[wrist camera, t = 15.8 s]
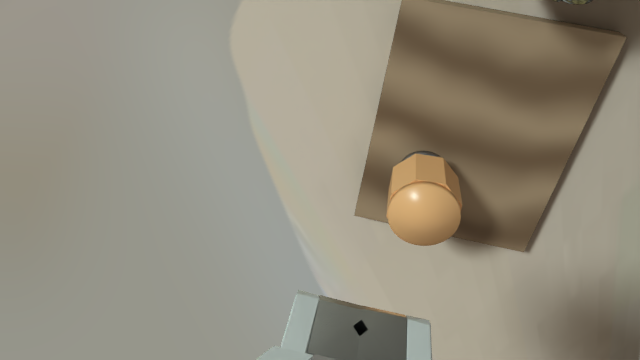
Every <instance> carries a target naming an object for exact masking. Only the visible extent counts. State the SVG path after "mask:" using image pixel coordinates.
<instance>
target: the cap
mask: <svg viewBox="0 0 640 360" xmlns="http://www.w3.org/2000/svg"><path fill="white" fill-rule="evenodd" d="M461 209H462V199H461V193H460V186H459V180H458V177H457V175H456V174H455V173H454V171H453V170H452V169H451V167H450V166H449V165H448V163H447V162H446V161H445V159H444V158H441V157H435V156H429V155H422V154H414V155H412V156H411V157H409V158H407V159H406V160H404V161H402V162H401V163H399V164H397V165H396V166H394V167H393V170H392V175H391V180H390V186H389V192H388V203H387V215H386V217H387V218H388V222H389V225H390V227H391V229H392V230H393V232H394V233H395V234H396V235H397V236H398V237H399V238H401V239H402V240H404V241H406V242H408V243H411V244H415V245H421V246H428V245H435V244H438V243H441V242H443V241H445V240H447V239H448V238H450V237H451V236H452V235H453V234H454V233H455V232H456V230H457V228H458V227H459V224H460V220H461V213H460V212H461Z"/></svg>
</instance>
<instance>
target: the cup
mask: <svg viewBox="0 0 640 360" xmlns="http://www.w3.org/2000/svg"><path fill="white" fill-rule="evenodd" d="M553 1H557V2H559V1H564V2H567V3H571V4H586V3H589V2H591V1H592V0H553Z"/></svg>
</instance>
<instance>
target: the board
mask: <svg viewBox="0 0 640 360" xmlns="http://www.w3.org/2000/svg"><path fill="white" fill-rule="evenodd" d="M626 38H627V37H626V36H624V35H623V34H621V33H620V32H616V31H610V30H605V29H599V28H594V27H588V26H583V25H577V24H571V23H566V22H560V21H555V20H549V19H544V18H538V17H533V16H527V15H522V14H516V13H511V12H505V11H500V10H494V9H489V8H483V7H478V6H472V5H467V4H461V3H455V2H450V1H444V0H402V2H401V7H400V11H399V16H398V20H397V25H396V29H395V34H394V38H393V43H392V47H391V52H390V56H389V61H388V65H387V70H386V74H385V79H384V83H383V88H382V93H381V97H380V102H379V106H378V111H377V115H376V120H375V124H374V129H373V133H372V138H371V142H370V147H369V151H368V156H367V160H366V165H365V169H364V174H363V178H362V183H361V187H360V192H359V196H358V201H357V205H356V210H355V216H359V217H363V218H368V219H373V220H377V221H382V222H387V223H389V222H388V218H387V217H386V215H387V203H388V192H389V186H390V180H391V175H392V170H393V167H394V166H396V165H397V164H399V163H400V162H401V161H402V159H403V158H404V157H406V156H407V155H408V154H410V153H413V152H416V151H430V152H434V153H436V154H438V155H439V156H441V157H442V158H444V159H445V161H446V162H447V163H448V165H449V166H450V167H451V169H452V170H453V171H454V173H455V174H456V175H457V177H458V180H459V186H460V193H461V199H462V209H461V212H460V213H461V220H460V224H459V227H458V228H457V230H456V232H455V233H454V234H453V235H452V236H451V237H456V238H461V239H465V240H470V241H475V242H479V243H484V244H489V245H493V246H498V247H502V248H507V249H512V250H516V251H521V252H524V251H525V249H526V246H527V244H528V242H529V240H530V238H531V236H532V234H533V232H534V230H535V228H536V226H537V224H538V221H539V219H540V217H541V215H542V213H543V211H544V209H545V207H546V205H547V203H548V201H549V199H550V196H551V194H552V192H553V190H554V188H555V186H556V184H557V182H558V180H559V178H560V176H561V174H562V171H563V169H564V167H565V165H566V163H567V161H568V159H569V157H570V155H571V153H572V151H573V149H574V146H575V144H576V142H577V140H578V138H579V136H580V134H581V132H582V130H583V128H584V126H585V124H586V121H587V119H588V117H589V115H590V113H591V111H592V109H593V107H594V105H595V103H596V101H597V99H598V97H599V94H600V92H601V90H602V88H603V86H604V84H605V82H606V80H607V78H608V76H609V74H610V72H611V69H612V67H613V65H614V63H615V61H616V59H617V57H618V55H619V53H620V51H621V49H622V47H623V44H624V42H625V40H626Z"/></svg>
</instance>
